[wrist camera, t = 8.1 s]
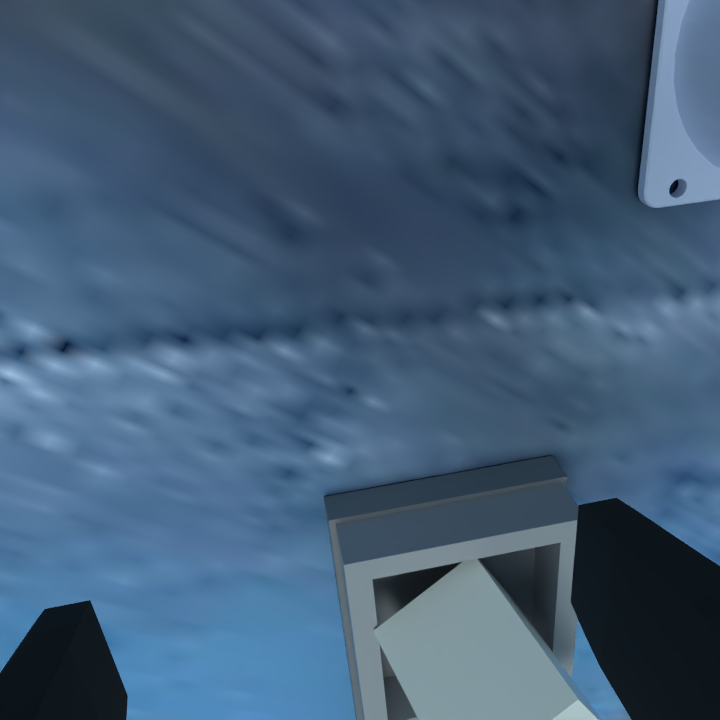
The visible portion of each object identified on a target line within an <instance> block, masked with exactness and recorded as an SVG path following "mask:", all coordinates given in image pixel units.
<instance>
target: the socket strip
mask: <svg viewBox="0 0 720 720" xmlns="http://www.w3.org/2000/svg"><path fill="white" fill-rule="evenodd" d="M566 486H567V476H566V474H565V473H564V471H563V470H562V469H561V467H560V466H559V465H558V463H557V462H556V461H555V459H554V458H553V457H552V456H547V457H542V458H536V459H530V460H525V461H519V462H514V463H508V464H503V465H497V466H492V467H486V468H481V469H475V470H470V471H464V472H459V473H453V474H448V475H442V476H437V477H431V478H425V479H420V480H414V481H409V482H403V483H398V484H392V485H387V486H381V487H376V488H370V489H365V490H359V491H354V492H348V493H343V494H337V495H332V496H326V497H324V500H325V507H326V514H327V521H328V528H329V535H330V542H331V548H332V555H333V562H334V569H335V576H336V583H337V590H338V597H339V604H340V610H341V617H342V624H343V631H344V638H345V645H346V652H347V659H348V666H349V673H350V679H351V686H352V693H353V700H354V707H355V714H356V720H418V718H417V716H416V714H415V712H414V710H413V708H412V706H411V704H410V702H409V700H408V698H407V696H406V694H405V692H404V690H403V688H402V686H401V684H400V683H399V681H398V679H397V677H396V675H395V673H394V671H393V669H392V667H391V665H390V663H389V661H388V659H387V657H386V655H385V653H384V651H383V649H382V648H381V646H380V644H379V642H378V640H377V638H376V636H375V634H374V632H373V631H374V630H375V629H376V628H378V627H379V626H380V625H381V624H383V623H384V622H385V621H387V620H388V619H389V618H391V617H392V616H393V615H394V614H396V613H397V612H398V611H400V610H401V609H402V608H404V607H405V606H406V605H407V604H409V603H410V602H411V601H413V600H414V599H415V598H416V597H418V596H419V595H420V594H422V593H423V592H424V591H426V590H427V589H428V588H429V587H431V586H432V585H433V584H435V583H436V582H437V581H439V580H440V579H441V578H442V577H444V576H445V575H446V574H448V573H449V572H450V571H451V570H453V569H454V568H455V567H457V566H458V565H459V564H461V563H462V562H464V561H469V560H474V559H479V560H480V562H481V563H482V564H483V565H484V566H485V567H486V568H487V570H488V571H489V572H490V573H491V574H492V575H493V576H494V578H495V579H496V580H497V581H498V582H499V583H500V584H501V586H502V587H503V588H504V589H505V590H506V591H507V592H508V594H509V595H510V596H511V597H512V598H513V599H514V600H515V602H516V603H517V604H518V605H519V607H520V608H521V609H522V611H523V612H524V613H525V615H526V616H527V618H528V619H529V620H530V622H531V623H532V624H533V626H534V627H535V629H536V630H537V631H538V633H539V634H540V635H541V637H542V638H543V639H544V641H545V642H546V644H547V645H548V646H549V648H550V649H551V650H552V652H553V653H554V655H555V656H556V657H557V659H558V660H559V661H560V663H561V664H562V666H563V667H564V668H565V670H566V671H567V672H568V674H569V675H570V677H571V678H572V669H573V658H574V648H575V637H576V626H577V615H576V613H575V611H574V609H573V606H572V604H571V602H570V601H571V590H572V578H573V566H574V554H575V542H576V531H577V519H578V505H577V504H576V502H575V501H574V500H573V498H572V497H571V495H570V494H569V493H568V491H567V490H566Z"/></svg>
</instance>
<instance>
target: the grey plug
mask: <svg viewBox="0 0 720 720" xmlns="http://www.w3.org/2000/svg"><path fill="white" fill-rule="evenodd" d="M373 632H374V634H375V636H376V638H377V640H378V642H379V644H380V646H381V648H382V649H383V651H384V653H385V655H386V657H387V659H388V661H389V663H390V665H391V667H392V669H393V671H394V673H395V675H396V677H397V679H398V681H399V683H400V684H401V686H402V688H403V690H404V692H405V694H406V696H407V698H408V700H409V702H410V704H411V706H412V708H413V710H414V712H415V714H416V716H417V718H418V720H602V719H601V718H600V716H599V715H598V714H597V712H596V711H595V709H594V708H593V707H592V705H591V704H590V703H589V701H588V700H587V698H586V697H585V696H584V694H583V693H582V692H581V690H580V689H579V687H578V686H577V685H576V683H575V682H574V681H573V679H572V678H571V677H570V675H569V674H568V672H567V671H566V670H565V668H564V667H563V666H562V664H561V663H560V661H559V660H558V659H557V657H556V656H555V655H554V653H553V652H552V650H551V649H550V648H549V646H548V645H547V644H546V642H545V641H544V639H543V638H542V637H541V635H540V634H539V633H538V631H537V630H536V629H535V627H534V626H533V624H532V623H531V622H530V620H529V619H528V618H527V616H526V615H525V613H524V612H523V611H522V609H521V608H520V607H519V605H518V604H517V603H516V602H515V600H514V599H513V598H512V597H511V596H510V595H509V594H508V592H507V591H506V590H505V589H504V588H503V587H502V586H501V584H500V583H499V582H498V581H497V580H496V579H495V578H494V576H493V575H492V574H491V573H490V572H489V571H488V570H487V568H486V567H485V566H484V565H483V564H482V563H481V562H480V560H479V559H474V560H469V561H464V562H462V563H461V564H459V565H458V566H457V567H455V568H454V569H453V570H451V571H450V572H449V573H448V574H446V575H445V576H444V577H442V578H441V579H440V580H439V581H437V582H436V583H435V584H433V585H432V586H431V587H429V588H428V589H427V590H426V591H424V592H423V593H422V594H420V595H419V596H418V597H416V598H415V599H414V600H413V601H411V602H410V603H409V604H407V605H406V606H405V607H404V608H402V609H401V610H400V611H398V612H397V613H396V614H394V615H393V616H392V617H391V618H389V619H388V620H387V621H385V622H384V623H383V624H381V625H380V626H379V627H378V628H376V629H375V630H374V631H373Z"/></svg>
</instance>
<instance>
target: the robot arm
mask: <svg viewBox="0 0 720 720" xmlns="http://www.w3.org/2000/svg"><path fill="white" fill-rule="evenodd" d="M677 179H678V187H677V189H676V190H675V191H674V192H673V193H672V194H670V193H669V189H670V186H671V184H672V183H673V182H674V181H675V180H677ZM638 197H639V199H640V200H641V202H642V203H644V204H646V205H648V206H650V207H653V208H661V207H668V206H675V205H682V204H690V203H697V202H704V201H711V200H718V199H720V0H659V1H658V10H657V20H656V29H655V38H654V47H653V56H652V65H651V75H650V84H649V93H648V102H647V111H646V120H645V130H644V139H643V148H642V157H641V166H640V176H639V185H638ZM570 602H571V604H572V606H573V609H574V611H575V613H576V615H577V618H578V620H579V622H580V624H581V627H582V629H583V631H584V633H585V636H586V638H587V640H588V642H589V644H590V646H591V648H592V651H593V653H594V655H595V657H596V659H597V661H598V663H599V665H600V667H601V669H602V671H603V672H604V674H605V676H606V677H607V679H608V681H609V683H610V684H611V686H612V688H613V689H614V691H615V693H616V694H617V696H618V698H619V699H620V701H621V703H622V704H623V706H624V708H625V709H626V711H627V713H628V714H629V716H630V718H631V719H632V720H720V566H719V565H717V564H716V563H714V562H712V561H711V560H709V559H708V558H706V557H705V556H703V555H702V554H700V553H699V552H697V551H696V550H694V549H693V548H691V547H690V546H688V545H687V544H685V543H684V542H682V541H681V540H679V539H678V538H676V537H675V536H673V535H672V534H670V533H669V532H667V531H666V530H664V529H663V528H661V527H660V526H658V525H657V524H656V523H654V522H653V521H651V520H650V519H648V518H647V517H645V516H644V515H642V514H641V513H639V512H638V511H636V510H635V509H633V508H631V507H630V506H628V505H627V504H625V503H624V502H622V501H621V500H619V499H617V498H613V499H608V500H603V501H598V502H593V503H588V504H582V505H579V507H578V519H577V531H576V542H575V554H574V566H573V578H572V590H571V601H570ZM126 715H127V693H126V691H125V688H124V685H123V683H122V680H121V678H120V675H119V673H118V670H117V668H116V665H115V662H114V660H113V657H112V655H111V652H110V650H109V647H108V645H107V642H106V640H105V637H104V634H103V632H102V629H101V627H100V624H99V622H98V619H97V617H96V614H95V611H94V609H93V606H92V604H91V601H90V600H89V601H84V602H79V603H74V604H69V605H64V606H59V607H53V608H48V609H45V610H44V611H43V612H42V614H41V615H40V616H39V618H38V619H37V620H36V622H35V623H34V625H33V626H32V627H31V629H30V630H29V632H28V633H27V635H26V636H25V638H24V639H23V640H22V642H21V643H20V645H19V646H18V648H17V649H16V651H15V652H14V654H13V655H12V657H11V658H10V659H9V661H8V662H7V664H6V665H5V667H4V668H3V670H2V671H1V673H0V720H126Z"/></svg>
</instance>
